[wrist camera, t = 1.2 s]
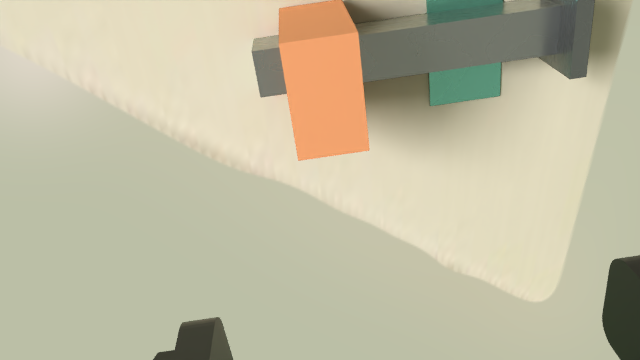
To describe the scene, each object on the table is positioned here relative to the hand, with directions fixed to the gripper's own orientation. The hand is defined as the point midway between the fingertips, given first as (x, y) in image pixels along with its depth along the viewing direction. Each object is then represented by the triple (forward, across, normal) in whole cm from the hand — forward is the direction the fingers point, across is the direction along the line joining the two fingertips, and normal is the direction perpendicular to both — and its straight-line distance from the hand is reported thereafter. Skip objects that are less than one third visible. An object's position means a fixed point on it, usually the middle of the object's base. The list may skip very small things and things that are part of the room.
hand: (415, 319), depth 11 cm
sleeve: (+28, +1, +2) cm, 28 cm away
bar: (+28, -5, +2) cm, 28 cm away
